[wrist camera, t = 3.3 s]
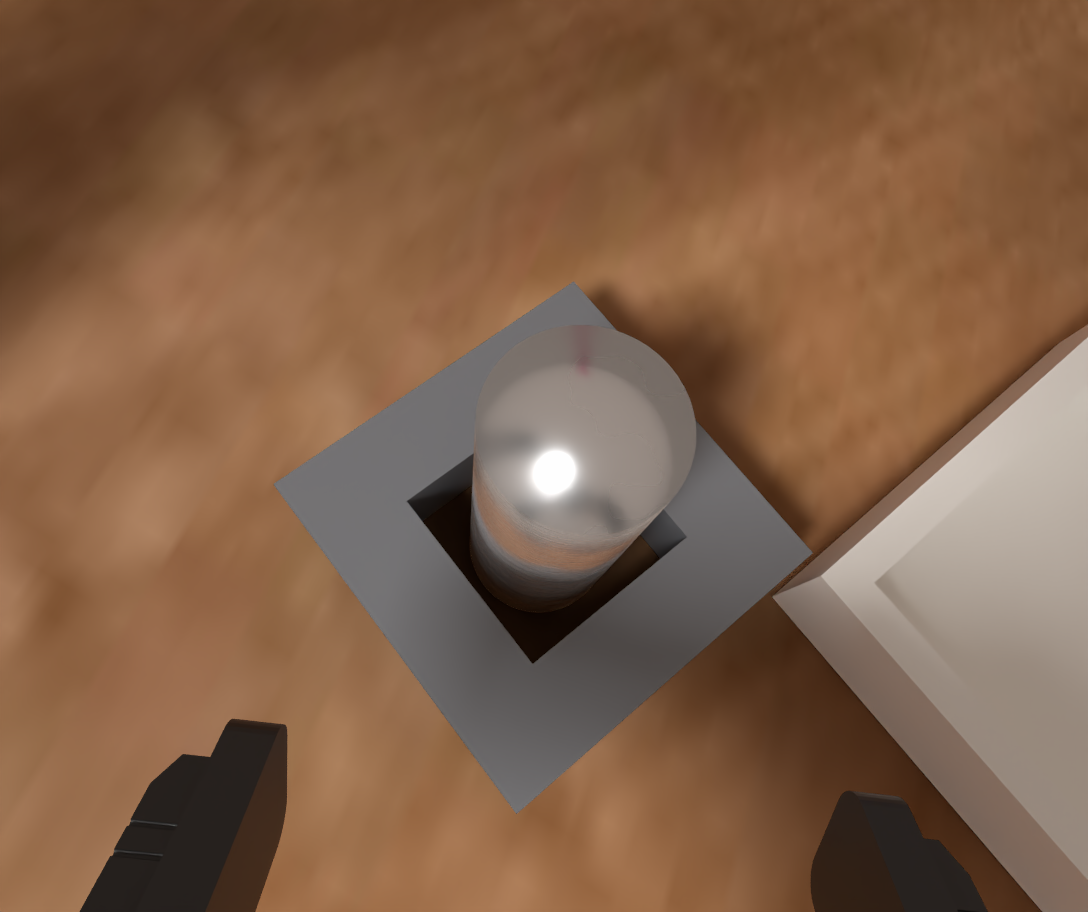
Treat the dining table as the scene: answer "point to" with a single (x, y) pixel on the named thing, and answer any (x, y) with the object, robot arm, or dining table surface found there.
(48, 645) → the dining table surface
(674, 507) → the socket block
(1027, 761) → the tray
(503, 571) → the pin
